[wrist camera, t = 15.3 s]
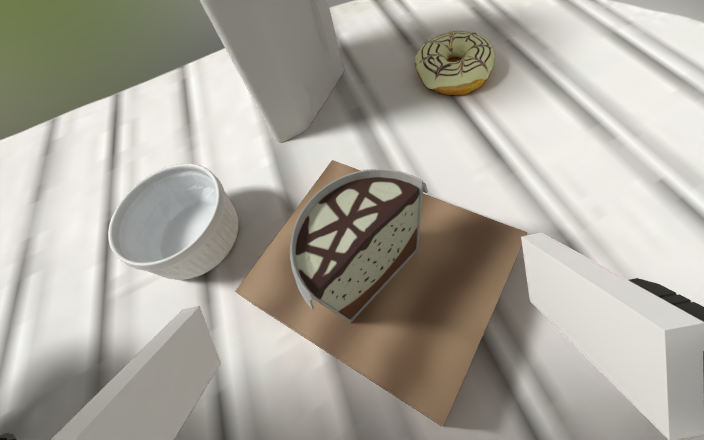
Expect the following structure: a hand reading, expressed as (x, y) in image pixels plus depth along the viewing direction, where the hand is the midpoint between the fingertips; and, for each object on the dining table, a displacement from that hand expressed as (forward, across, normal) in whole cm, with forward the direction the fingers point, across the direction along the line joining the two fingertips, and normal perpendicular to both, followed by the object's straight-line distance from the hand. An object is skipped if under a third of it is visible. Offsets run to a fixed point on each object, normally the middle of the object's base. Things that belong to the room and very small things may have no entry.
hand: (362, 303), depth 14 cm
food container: (+19, -1, -6) cm, 20 cm away
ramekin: (+29, -21, -2) cm, 36 cm away
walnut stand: (+22, 0, -8) cm, 23 cm away
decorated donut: (+42, +16, +11) cm, 46 cm away
